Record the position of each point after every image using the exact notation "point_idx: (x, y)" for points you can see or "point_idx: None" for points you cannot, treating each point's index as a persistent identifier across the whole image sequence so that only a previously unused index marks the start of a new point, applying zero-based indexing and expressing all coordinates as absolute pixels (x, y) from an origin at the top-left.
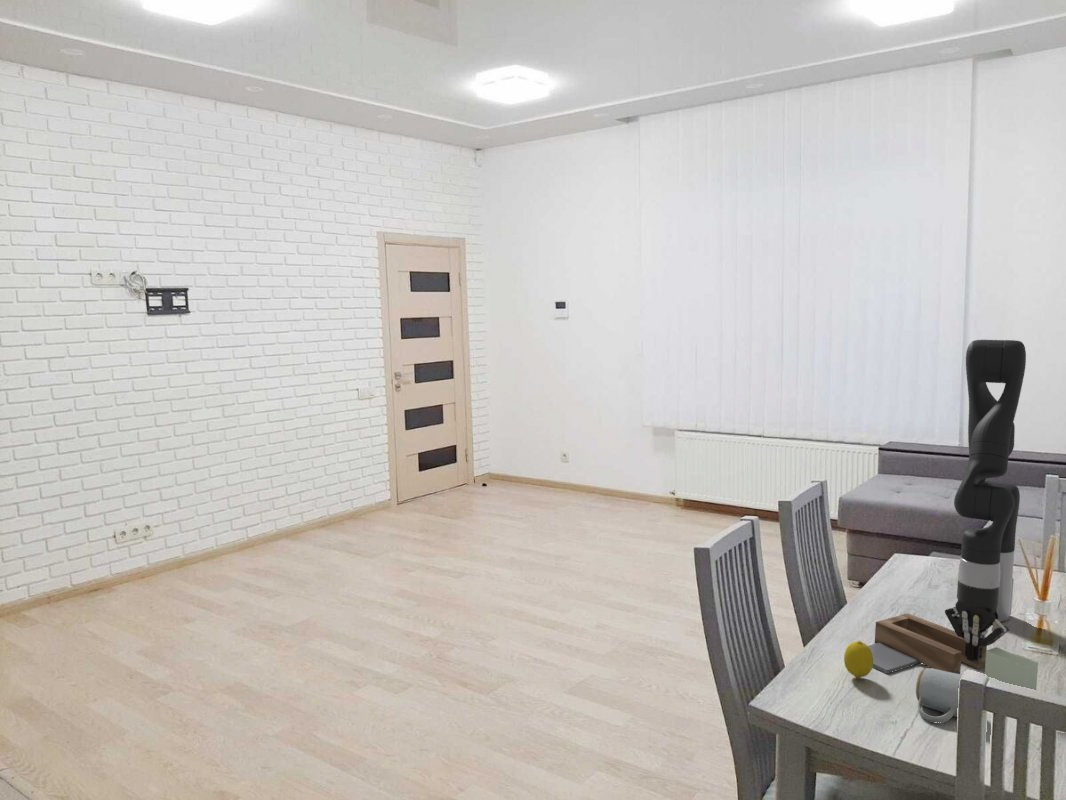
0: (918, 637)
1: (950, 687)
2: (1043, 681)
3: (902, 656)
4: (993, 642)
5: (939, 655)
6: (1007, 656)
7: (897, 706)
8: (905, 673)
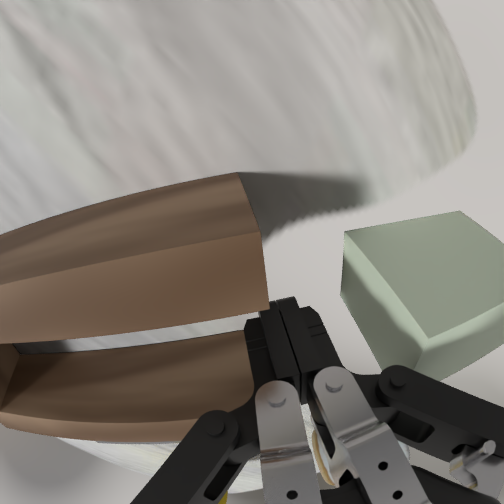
0: (111, 435)
1: None
2: (436, 77)
3: None
4: (418, 380)
5: None
6: (470, 356)
7: None
8: None
